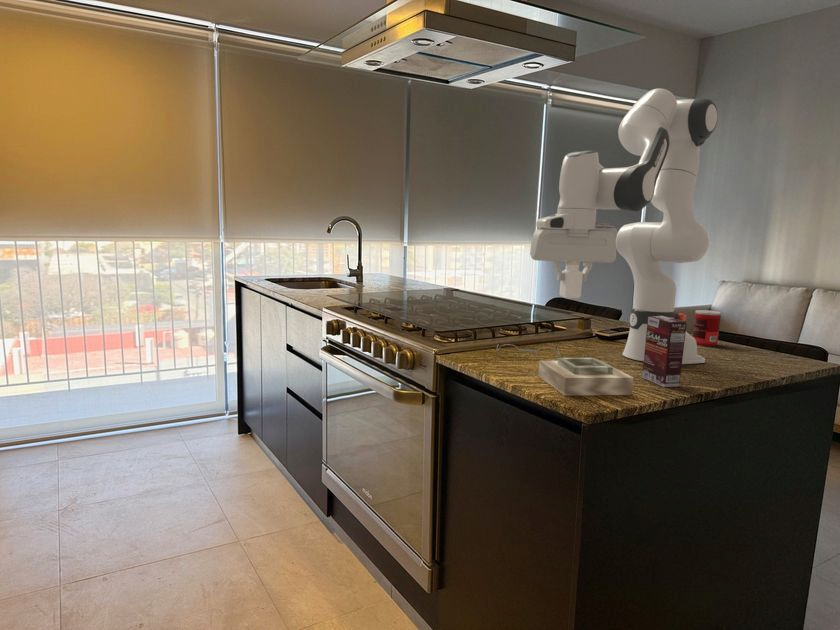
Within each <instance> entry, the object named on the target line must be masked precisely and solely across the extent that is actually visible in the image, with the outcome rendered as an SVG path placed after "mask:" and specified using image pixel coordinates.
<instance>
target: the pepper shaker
mask: <svg viewBox="0 0 840 630" xmlns="http://www.w3.org/2000/svg"><path fill="white" fill-rule="evenodd" d="M580 263H581V262H577V261H565V264H564V265H565V269H563V270H561V271H562V273H565V281H560V282H559V296H560V297H563V298H566V299H580V298H581V297H582V287H583V281H582V276H583V273H582V271H580Z"/></svg>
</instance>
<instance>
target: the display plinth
mask: <svg viewBox="0 0 840 630" xmlns="http://www.w3.org/2000/svg"><path fill="white" fill-rule="evenodd" d="M538 363H539V364H538V365H539V366H538V377H539V378H540V379H541V380H543V382H545V383H547V384H548V385H549V384H550V385H549V386H551V388H553V387H554V389H555V390H556V391H557V390H558V392H559V393H560V394H561V393H562V394H561V395H563V396H565V397H566V396H632V395H633V387H634V377H633V376H631V375H630V374H627V373H625V372H623V371H621V370H620V369H617V368H616V367H613V366H612V365H610V364H608V363H606V362H604V361H602V360H599V359H597V358H596V357H557V360H539V361H538Z"/></svg>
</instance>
